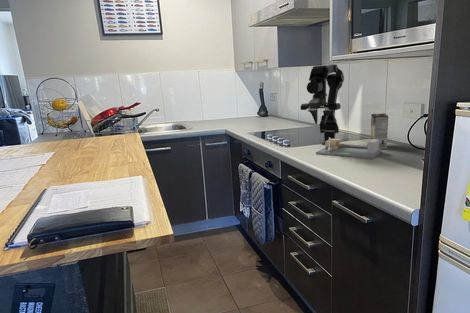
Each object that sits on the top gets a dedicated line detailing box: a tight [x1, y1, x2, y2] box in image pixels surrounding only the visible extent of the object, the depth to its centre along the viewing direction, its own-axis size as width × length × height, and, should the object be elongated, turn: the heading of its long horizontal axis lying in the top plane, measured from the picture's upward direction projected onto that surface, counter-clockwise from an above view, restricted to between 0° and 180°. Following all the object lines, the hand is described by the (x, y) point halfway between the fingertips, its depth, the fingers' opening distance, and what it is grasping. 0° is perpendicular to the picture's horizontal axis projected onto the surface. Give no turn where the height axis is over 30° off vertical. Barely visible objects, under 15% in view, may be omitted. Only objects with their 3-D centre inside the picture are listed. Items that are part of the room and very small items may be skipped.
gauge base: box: [315, 139, 382, 160], centre depth 157 cm, size 15×26×6 cm, turn 53°
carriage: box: [324, 138, 341, 150], centre depth 162 cm, size 12×5×4 cm, turn 143°
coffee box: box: [370, 112, 389, 150], centre depth 164 cm, size 9×6×16 cm
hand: (320, 124), depth 165 cm, fingers open, 4 cm apart
